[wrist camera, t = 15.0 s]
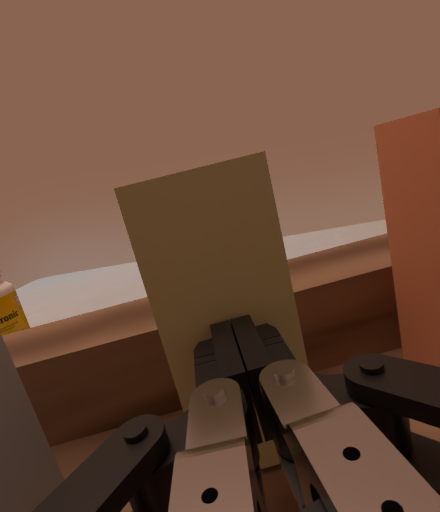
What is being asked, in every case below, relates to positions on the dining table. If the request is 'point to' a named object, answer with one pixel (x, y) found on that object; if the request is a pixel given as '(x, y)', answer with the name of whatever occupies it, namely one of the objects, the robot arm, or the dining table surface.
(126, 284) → the dining table surface
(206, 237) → the khaki rectangular block
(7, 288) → the supplement bottle
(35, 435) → the slate key
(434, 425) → the robot arm
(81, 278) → the dining table surface
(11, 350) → the console
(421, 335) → the terracotta key
